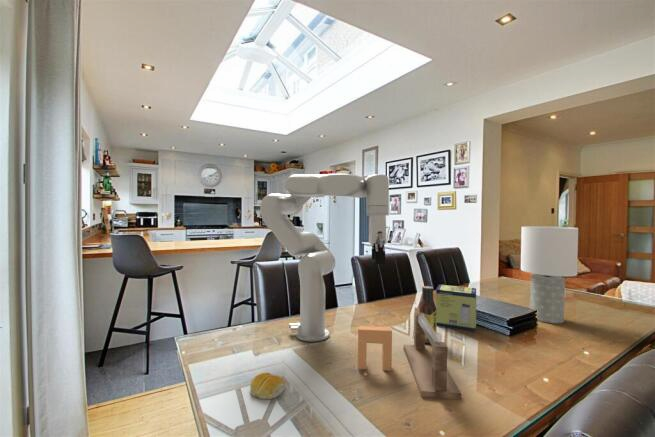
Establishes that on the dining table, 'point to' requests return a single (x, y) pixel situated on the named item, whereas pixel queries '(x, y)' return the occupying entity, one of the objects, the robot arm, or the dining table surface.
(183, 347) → the dining table surface
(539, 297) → the lamp
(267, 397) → the bread roll
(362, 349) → the wooden arch block
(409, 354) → the rail stand
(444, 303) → the protein box
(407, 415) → the dining table surface
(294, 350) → the dining table surface
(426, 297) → the sauce bottle
